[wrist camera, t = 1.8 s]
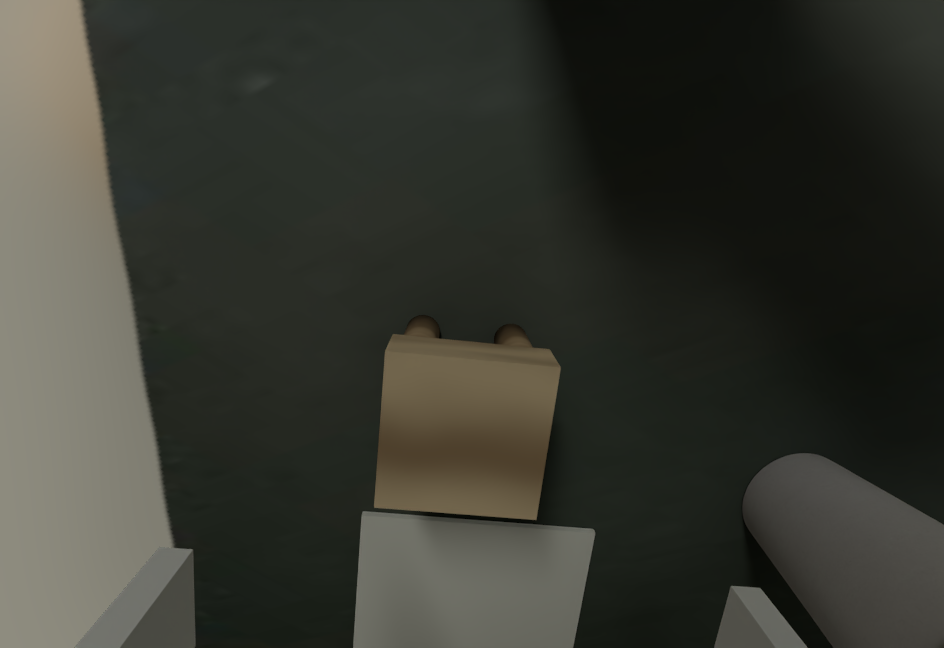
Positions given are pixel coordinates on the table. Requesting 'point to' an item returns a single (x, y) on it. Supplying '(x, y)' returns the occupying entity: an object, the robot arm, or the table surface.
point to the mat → (468, 583)
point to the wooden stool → (464, 423)
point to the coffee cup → (850, 553)
